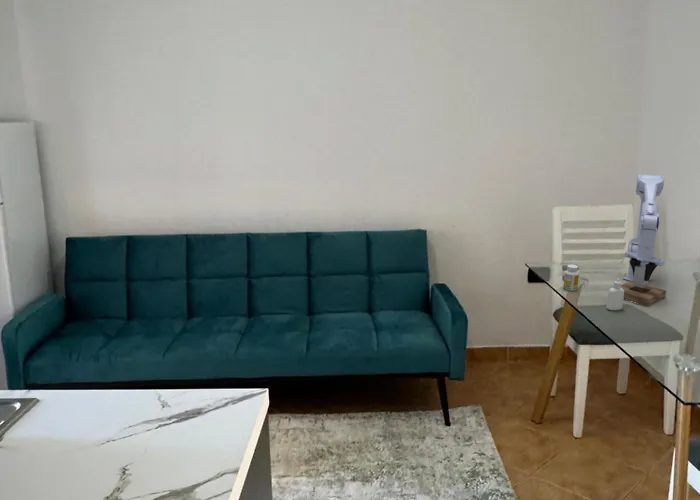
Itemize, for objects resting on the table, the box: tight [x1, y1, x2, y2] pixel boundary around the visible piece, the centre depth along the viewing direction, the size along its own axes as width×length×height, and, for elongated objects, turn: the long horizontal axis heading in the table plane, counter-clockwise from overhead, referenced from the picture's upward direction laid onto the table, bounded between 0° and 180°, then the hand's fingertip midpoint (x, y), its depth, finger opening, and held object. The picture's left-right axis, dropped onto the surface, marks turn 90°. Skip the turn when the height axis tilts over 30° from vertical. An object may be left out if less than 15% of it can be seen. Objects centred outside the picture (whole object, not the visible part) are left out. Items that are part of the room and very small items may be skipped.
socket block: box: [620, 281, 667, 308], centre depth 252 cm, size 14×14×3 cm
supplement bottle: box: [563, 264, 580, 292], centre depth 260 cm, size 5×5×10 cm
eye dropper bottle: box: [605, 278, 624, 311], centre depth 240 cm, size 4×6×12 cm
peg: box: [633, 264, 649, 288], centre depth 250 cm, size 4×4×8 cm
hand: (641, 278), depth 250 cm, fingers closed on peg, 4 cm apart
